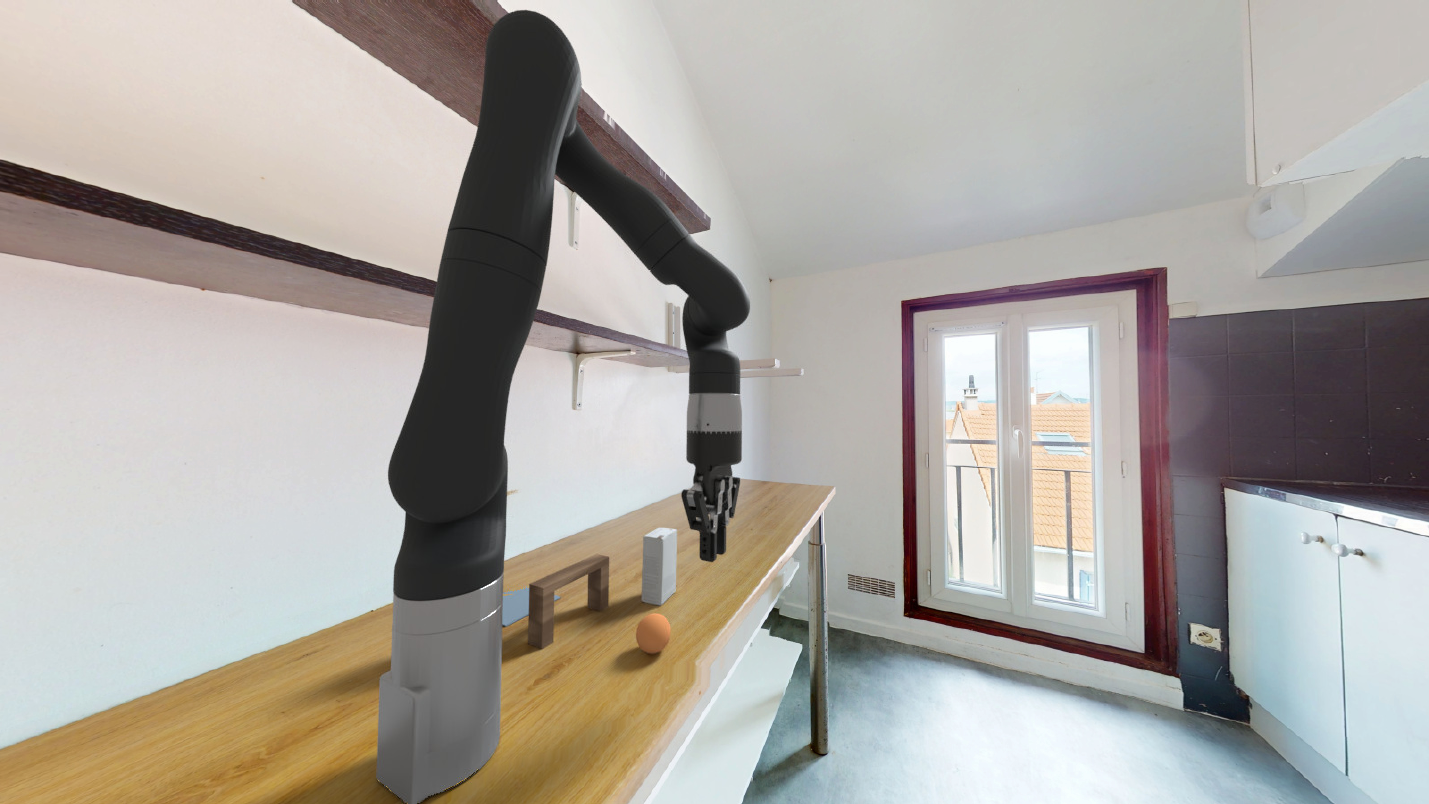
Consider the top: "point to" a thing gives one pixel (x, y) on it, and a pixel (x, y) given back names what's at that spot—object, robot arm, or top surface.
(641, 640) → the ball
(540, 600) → the bridge
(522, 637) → the top surface
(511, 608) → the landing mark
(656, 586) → the skincare box
